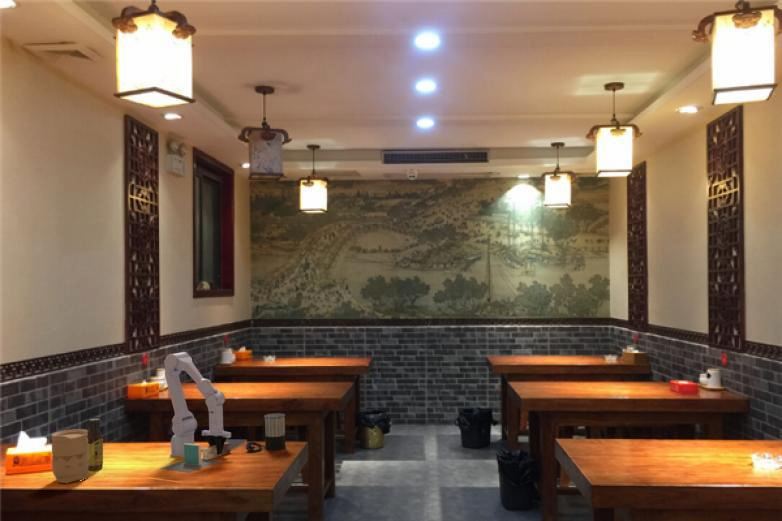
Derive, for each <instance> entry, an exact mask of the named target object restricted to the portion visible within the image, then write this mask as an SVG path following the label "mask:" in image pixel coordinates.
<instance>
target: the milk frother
mask: <svg viewBox="0 0 782 521" xmlns="http://www.w3.org/2000/svg"><path fill="white" fill-rule="evenodd" d="M285 416H286V414H285V413H280V412H279V413H268V414H265V415H264V416H263V419H262V433H263V434H262V435H263V441H264V442H265V445H262V444H260V443H258V442H255V441H249V442H246V443H245V449H246V451H248V452H250V453H258V452H261V451H262V450H263V449H262V448H264V450H265V451H268V452H269V451H270V452H274V451H275V452H277V451H282V450H285V449H286V448H287V446H286V423H285V422H286V421H285ZM256 446H257V449H256Z"/></svg>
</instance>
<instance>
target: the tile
mask: <svg viewBox="0 0 782 521" xmlns="http://www.w3.org/2000/svg"><path fill="white" fill-rule="evenodd" d="M201 450H202V444H197V443H194V444H189V443H185V444H184V457H183V458H184V460H185V464H192V465H201V459H202V451H201ZM184 460H183V461H184Z"/></svg>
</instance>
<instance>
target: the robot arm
mask: <svg viewBox="0 0 782 521" xmlns="http://www.w3.org/2000/svg"><path fill="white" fill-rule="evenodd" d="M163 364H164V377H165V382H166V385H167V388H168V392H169V396H170V400H171V403H172V407H173V411H174V416H173V417H172V419H171V422H172V432H173V433H174V434H173V435H172V437H171V439H170V455H169V456H170V457H171V456H174V457H182V458H184V444H185V443H189V444H195V436H194V435H195V432H196V430H197V428H198V422H197V419H196V418H195V416H194V414H193V413H192V412H191V411H189V408H188V406H187V401H186V398H185V395H184V391H183V386H182V382H181V379H180V374H181V373H182V371H183V372H185V373H187V375H188V376H190V378H191V379H192V380H193V381H194V382H195V383H196V389H197V390H198V391H199V392H200V393H201V395H202V397H204V399H205V405H206V407H207V411H208V425H209V426H208V429H209V430H207V429H204V430H201V436H202V437H204V436H206V437H205V440H206V442H207V444H208V445H209V446H214V445H216V446H217V454H218V455H219V454H222V450H223V446H224V443H225V441H226V439H231V437H232V432H229V431H225V430H224V415H223V414H224V413H223V412H224V411H223V410H224V409H223V404H224V403H225V402H226V397H225V394H224V393H223V391H219V390H218V389H217V388H216V387H215V386H214V385H213V384H212V381H211V379H208V378H204V377H203V376H202V374H201V373H200V371H199V370H198V369H197V366H195V364H194V362H193V358H192V357H191V356H190V354H189V352H186V351H182V352H178V353H177V352H176V353H170V354H169V353H168V354H167V355H166V357H165V359H164V360H163ZM209 446H208V447H209Z"/></svg>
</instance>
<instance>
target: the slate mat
mask: <svg viewBox="0 0 782 521" xmlns="http://www.w3.org/2000/svg"><path fill="white" fill-rule="evenodd" d="M220 462H222V460H215V459H208V460H205V459H203V458H201V465H192V464H185V460H182V461H179V462H176V463H173V464H170V465H166V466H162V467H161V468H160V467H159V469H160V470H165V471H166V470H167V471H175V472H183V473H192V472H196V471H198V470H201V469H204V468H207V467H210V466H212V465H215V464H217V463H220Z"/></svg>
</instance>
